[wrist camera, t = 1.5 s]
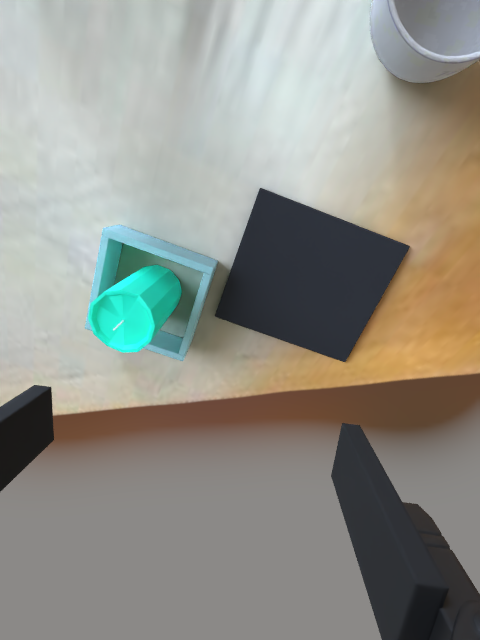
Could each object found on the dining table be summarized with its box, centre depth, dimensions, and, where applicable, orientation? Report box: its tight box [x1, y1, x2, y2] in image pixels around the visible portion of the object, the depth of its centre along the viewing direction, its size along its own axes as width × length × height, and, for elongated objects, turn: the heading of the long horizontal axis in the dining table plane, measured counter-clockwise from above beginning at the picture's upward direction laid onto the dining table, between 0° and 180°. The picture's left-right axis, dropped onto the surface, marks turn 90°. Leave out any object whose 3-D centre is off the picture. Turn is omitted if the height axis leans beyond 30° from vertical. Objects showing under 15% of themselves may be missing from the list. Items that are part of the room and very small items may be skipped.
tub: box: [85, 225, 218, 361], centre depth 35 cm, size 12×12×4 cm
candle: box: [88, 265, 182, 352], centre depth 31 cm, size 6×6×12 cm
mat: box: [215, 188, 410, 362], centre depth 35 cm, size 17×15×1 cm
